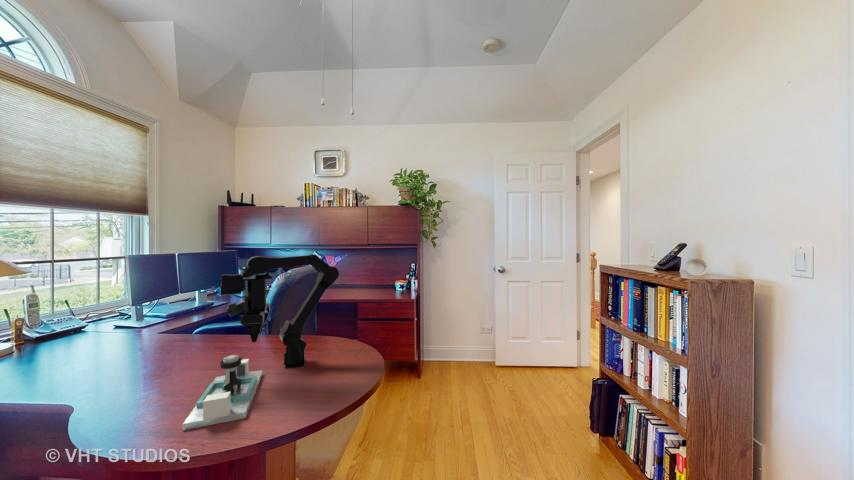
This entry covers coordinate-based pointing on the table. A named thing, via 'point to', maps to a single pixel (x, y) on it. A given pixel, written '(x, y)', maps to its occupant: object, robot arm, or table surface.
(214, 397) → the white padded clamp jaws
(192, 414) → the teal-edged white tray
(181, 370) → the table surface
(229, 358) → the push button
